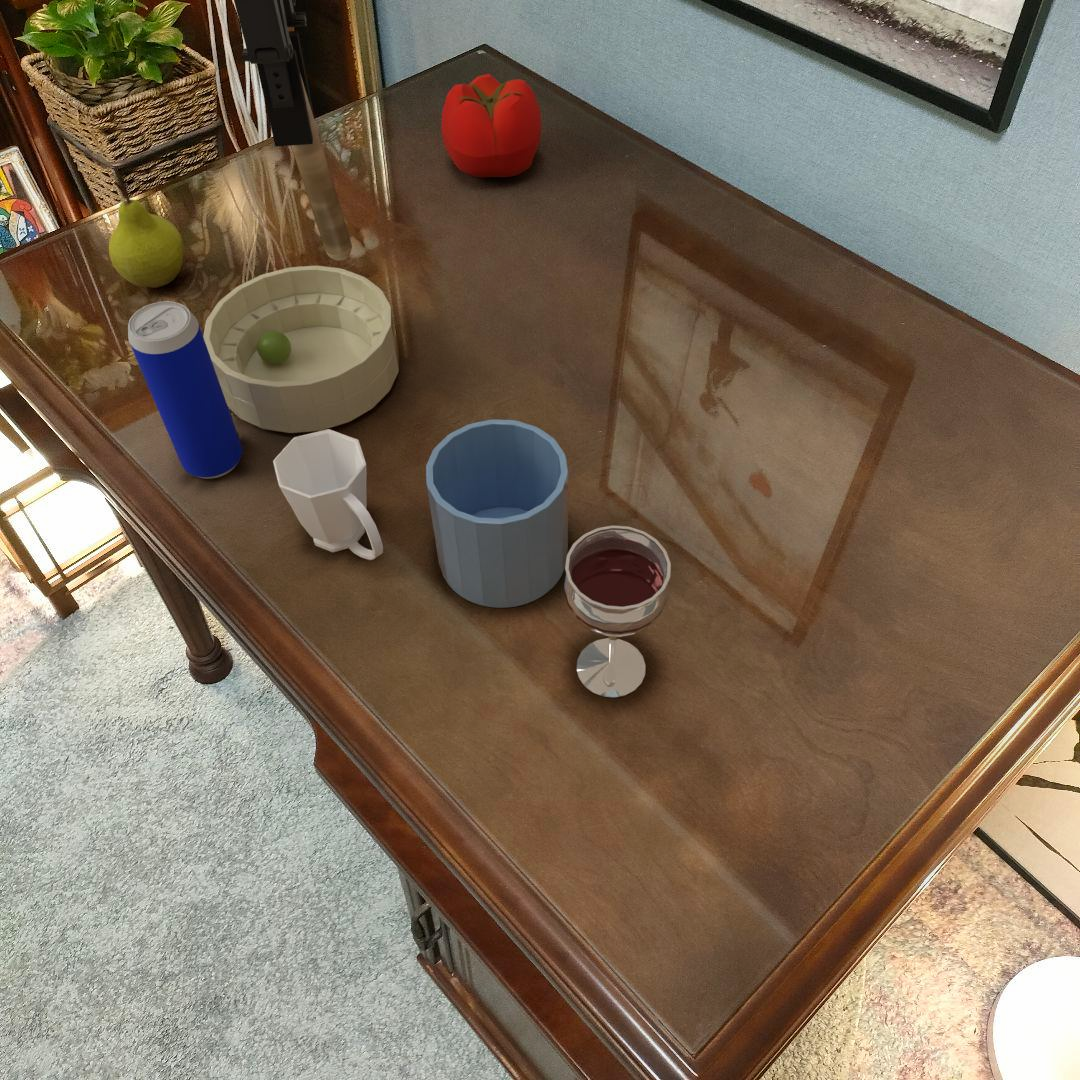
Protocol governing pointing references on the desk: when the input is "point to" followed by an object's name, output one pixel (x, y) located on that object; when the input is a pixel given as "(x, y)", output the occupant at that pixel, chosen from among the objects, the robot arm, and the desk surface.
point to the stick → (322, 193)
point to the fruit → (145, 246)
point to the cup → (328, 490)
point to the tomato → (491, 127)
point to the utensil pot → (499, 511)
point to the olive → (274, 347)
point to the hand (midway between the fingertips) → (295, 131)
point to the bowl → (304, 348)
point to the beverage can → (185, 388)
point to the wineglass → (615, 602)
